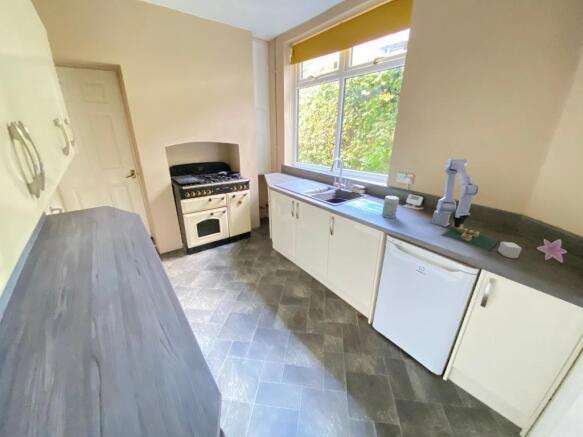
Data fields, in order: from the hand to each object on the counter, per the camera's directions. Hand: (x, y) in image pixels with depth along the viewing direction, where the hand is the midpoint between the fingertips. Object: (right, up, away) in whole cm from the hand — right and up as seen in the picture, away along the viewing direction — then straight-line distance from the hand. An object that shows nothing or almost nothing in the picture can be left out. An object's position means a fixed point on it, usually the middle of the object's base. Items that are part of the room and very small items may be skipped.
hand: (457, 226), depth 143 cm
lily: (+33, -16, -20) cm, 42 cm away
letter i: (+8, -4, +8) cm, 12 cm away
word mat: (+7, -7, 0) cm, 10 cm away
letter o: (+3, -8, -2) cm, 9 cm away
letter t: (+12, -6, +3) cm, 14 cm away
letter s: (0, -1, 0) cm, 1 cm away
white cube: (+14, -15, -18) cm, 27 cm away
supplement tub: (-29, +6, +32) cm, 44 cm away
